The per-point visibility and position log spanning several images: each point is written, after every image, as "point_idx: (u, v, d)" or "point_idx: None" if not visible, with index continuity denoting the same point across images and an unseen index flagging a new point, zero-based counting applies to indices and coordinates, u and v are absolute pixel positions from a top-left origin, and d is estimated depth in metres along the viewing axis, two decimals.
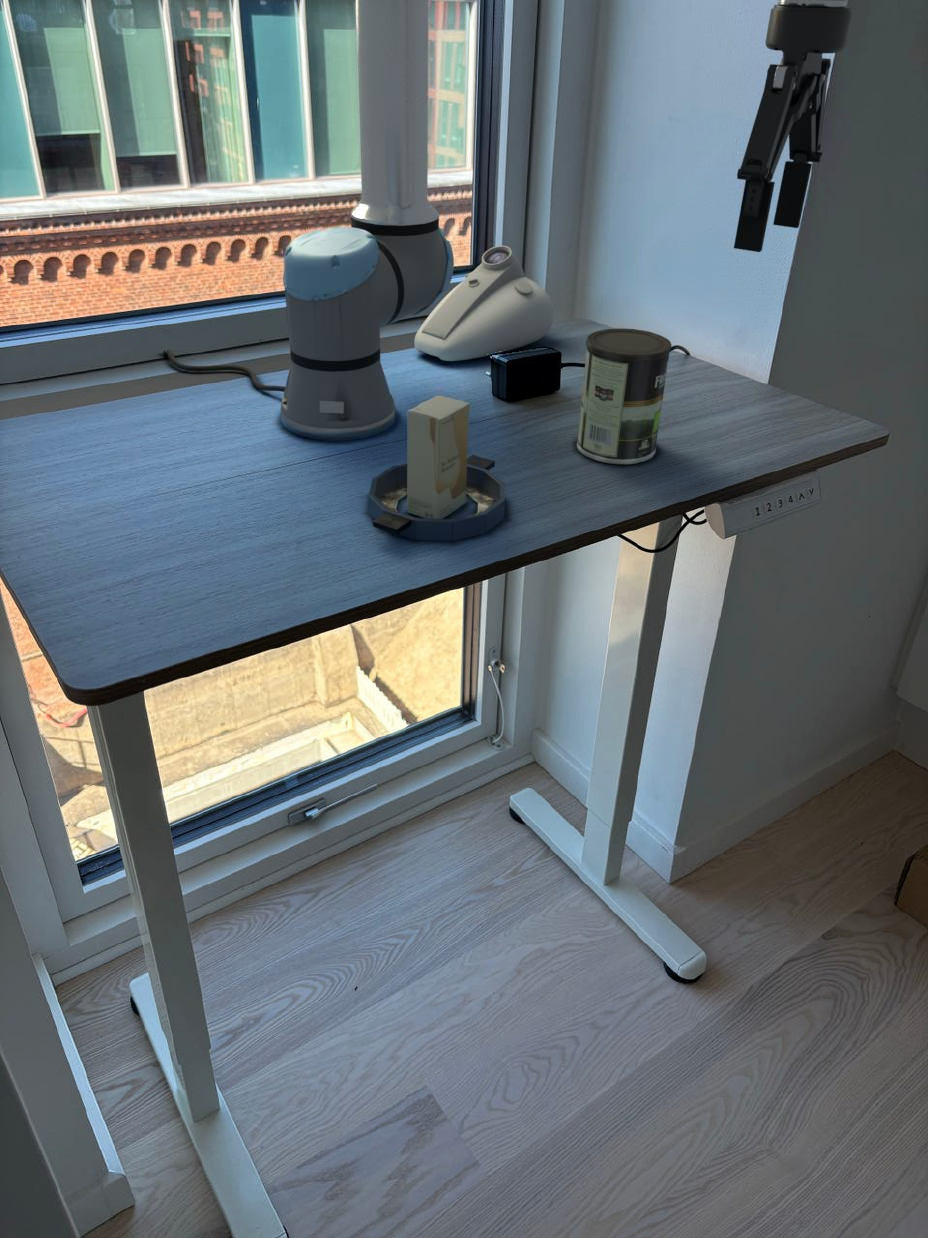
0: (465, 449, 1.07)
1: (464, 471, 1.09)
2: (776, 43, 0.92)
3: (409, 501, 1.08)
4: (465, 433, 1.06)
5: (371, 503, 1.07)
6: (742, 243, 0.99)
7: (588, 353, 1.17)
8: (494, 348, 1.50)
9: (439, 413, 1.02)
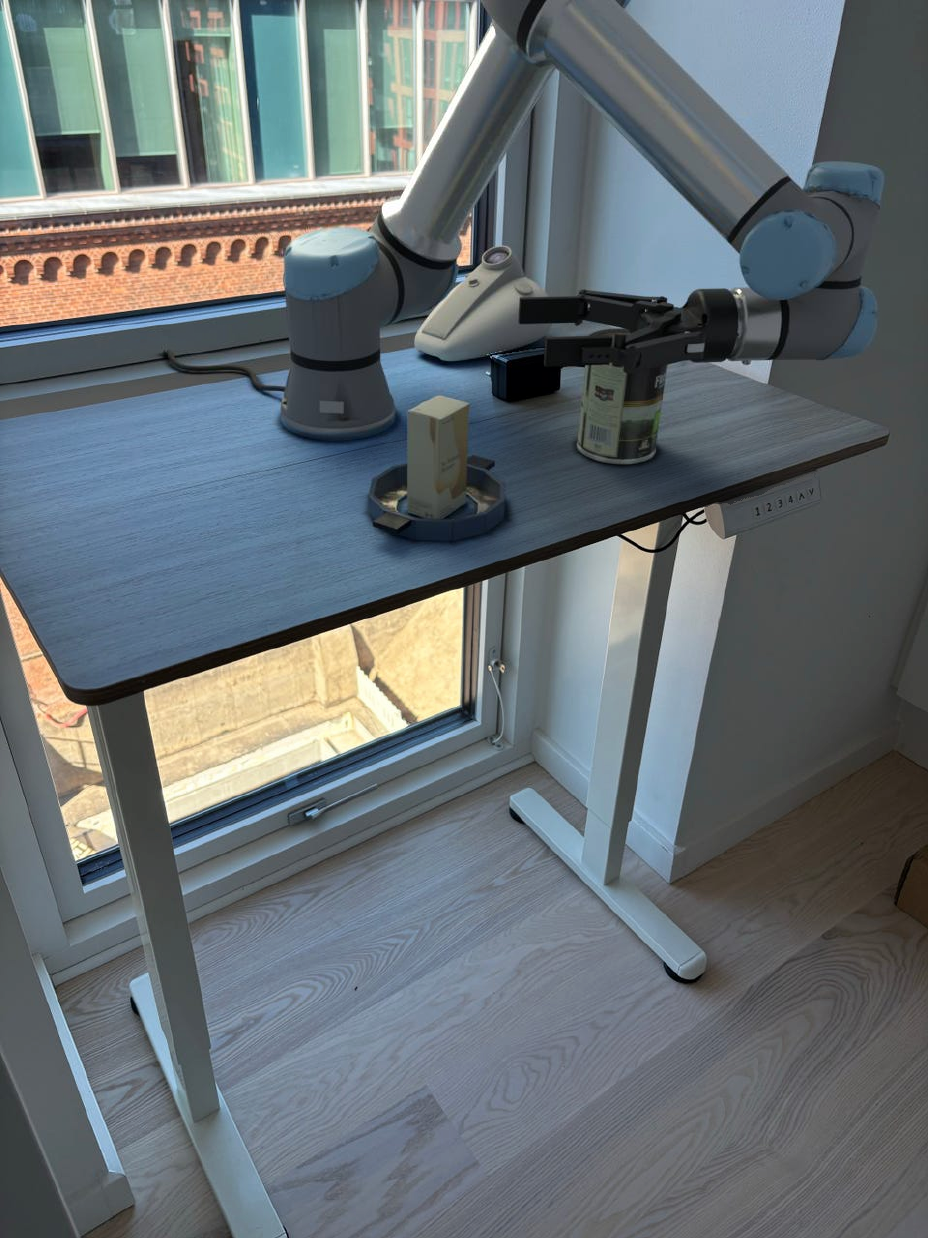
0: (465, 449, 1.07)
1: (464, 471, 1.09)
2: (711, 317, 0.99)
3: (409, 501, 1.08)
4: (465, 433, 1.06)
5: (371, 503, 1.07)
6: (552, 347, 0.94)
7: None
8: (494, 348, 1.50)
9: (439, 413, 1.02)
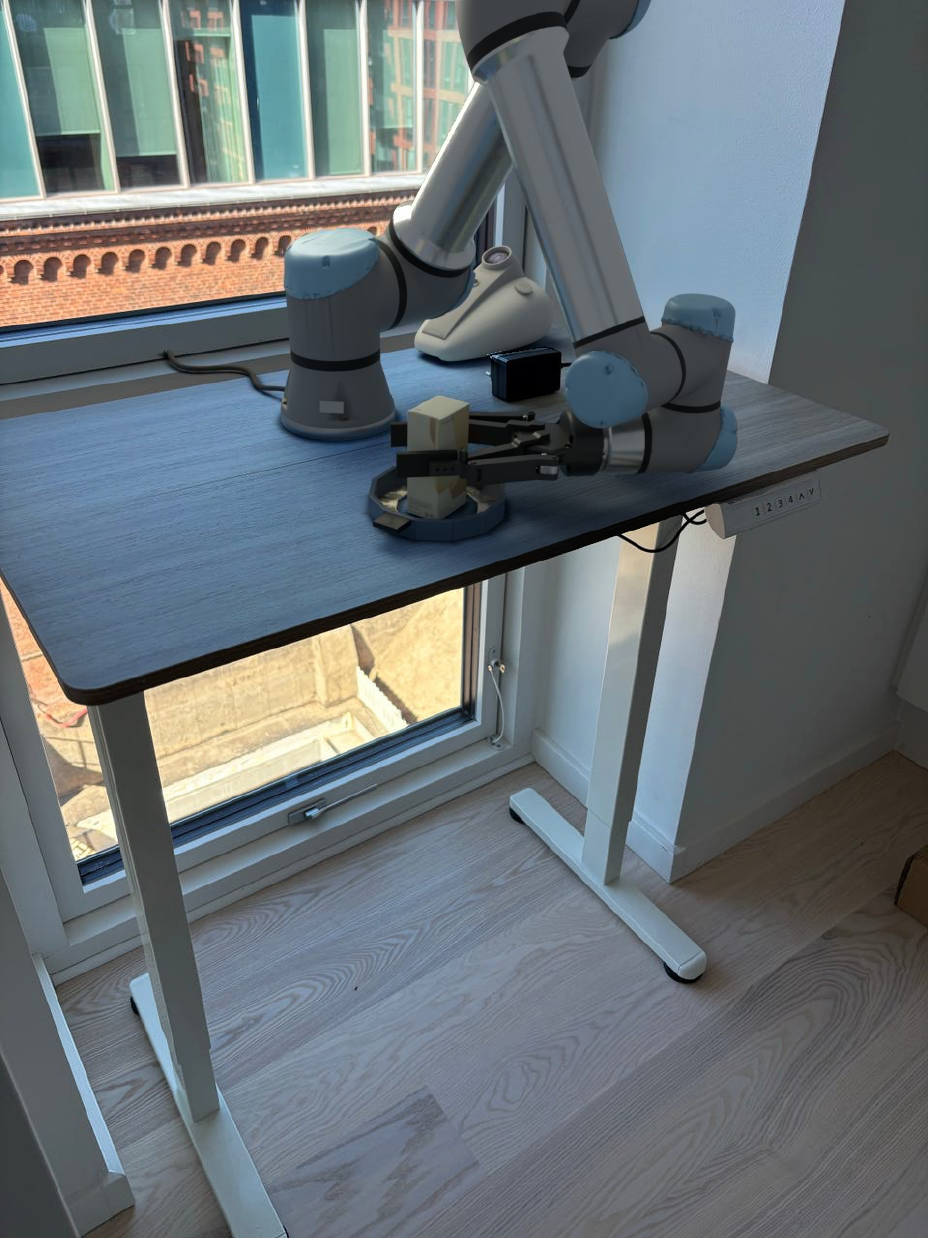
0: None
1: None
2: (577, 439, 1.04)
3: (409, 501, 1.08)
4: (465, 433, 1.06)
5: (371, 503, 1.07)
6: (401, 461, 1.02)
7: None
8: (494, 348, 1.50)
9: (439, 413, 1.02)
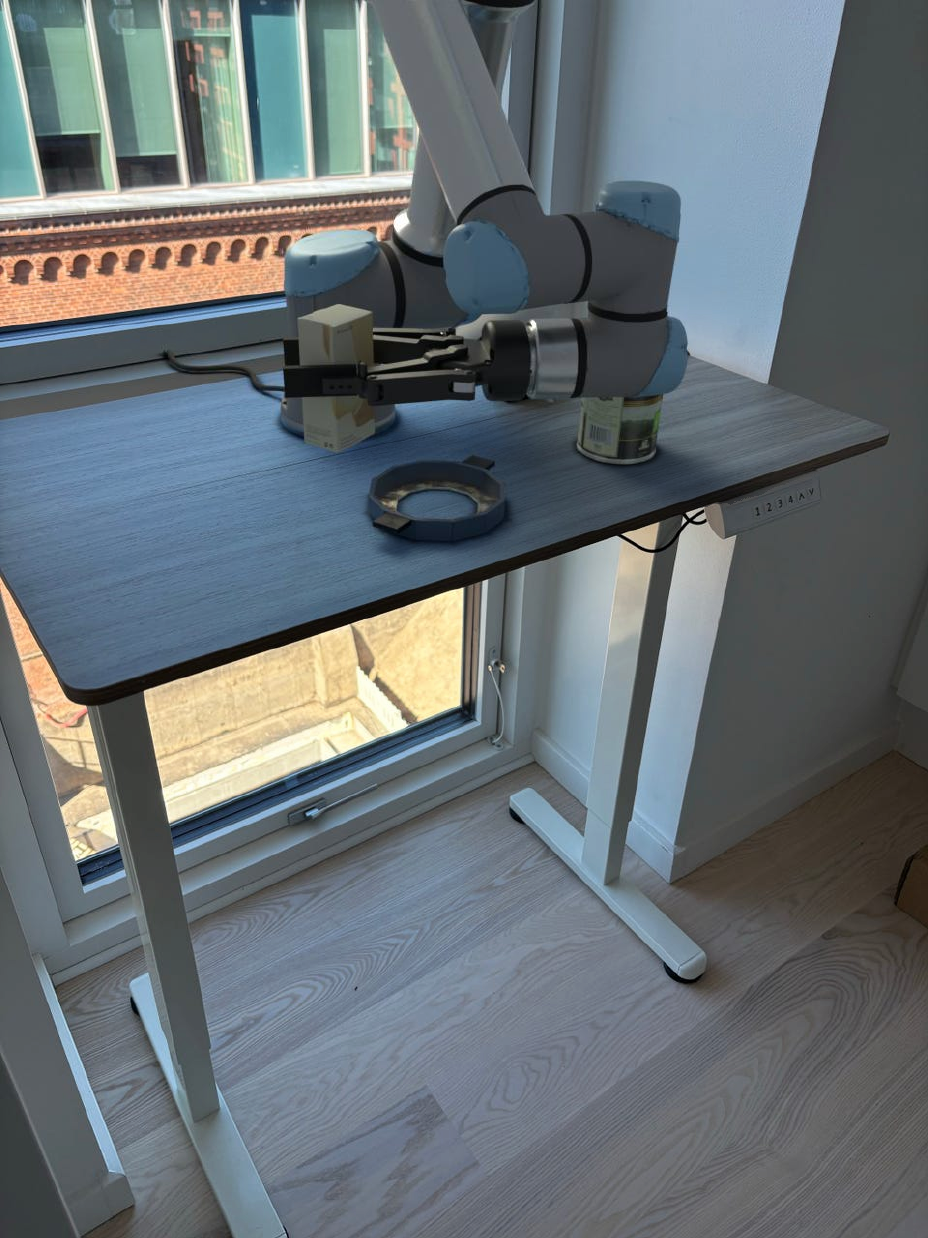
0: None
1: None
2: (498, 353, 0.89)
3: (306, 429, 0.93)
4: (369, 348, 0.91)
5: (371, 503, 1.07)
6: (290, 377, 0.86)
7: None
8: None
9: (334, 321, 0.86)
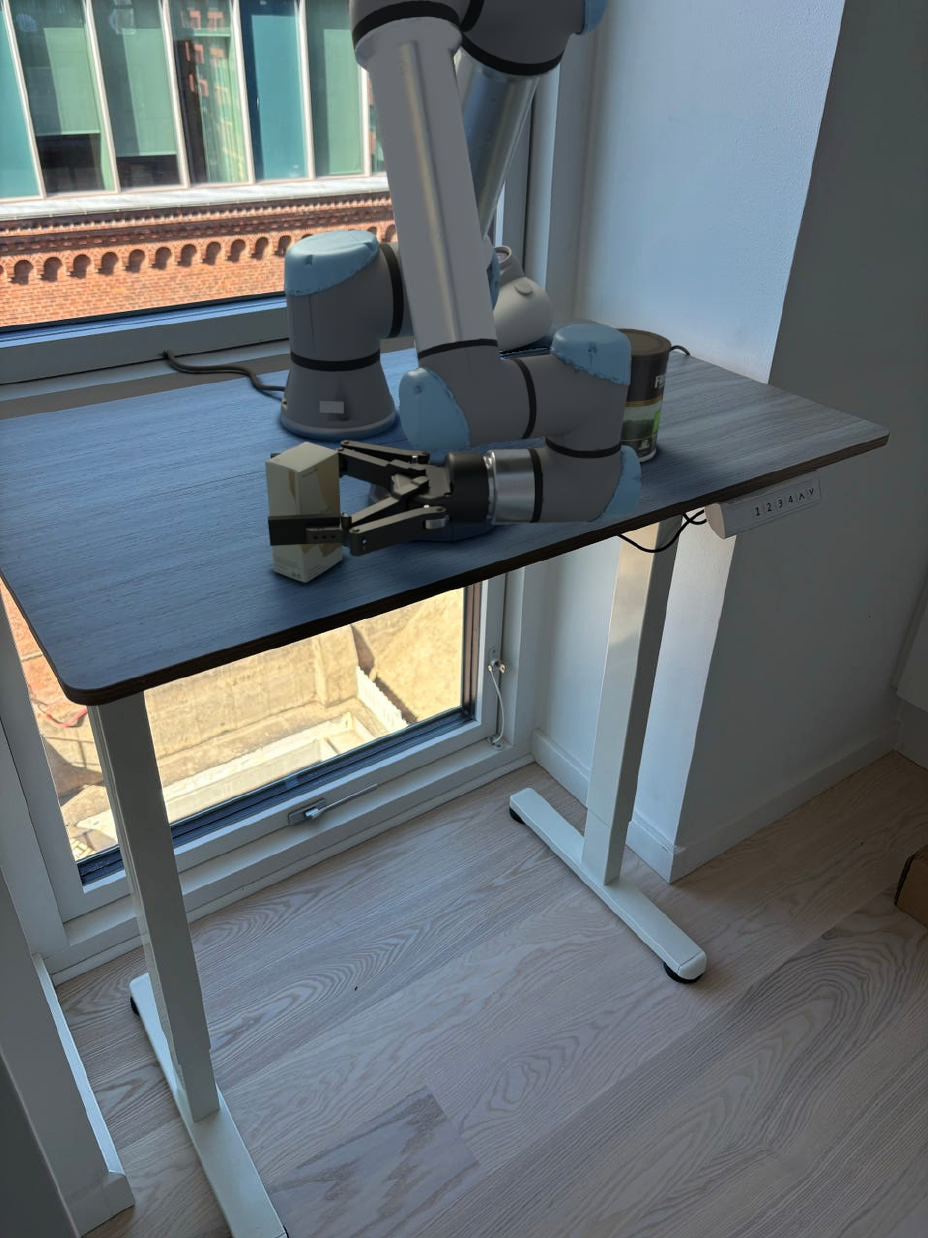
0: (337, 501, 0.96)
1: None
2: (457, 487, 0.93)
3: (275, 559, 0.97)
4: (335, 484, 0.95)
5: (371, 503, 1.07)
6: (274, 527, 0.88)
7: None
8: None
9: (299, 464, 0.91)
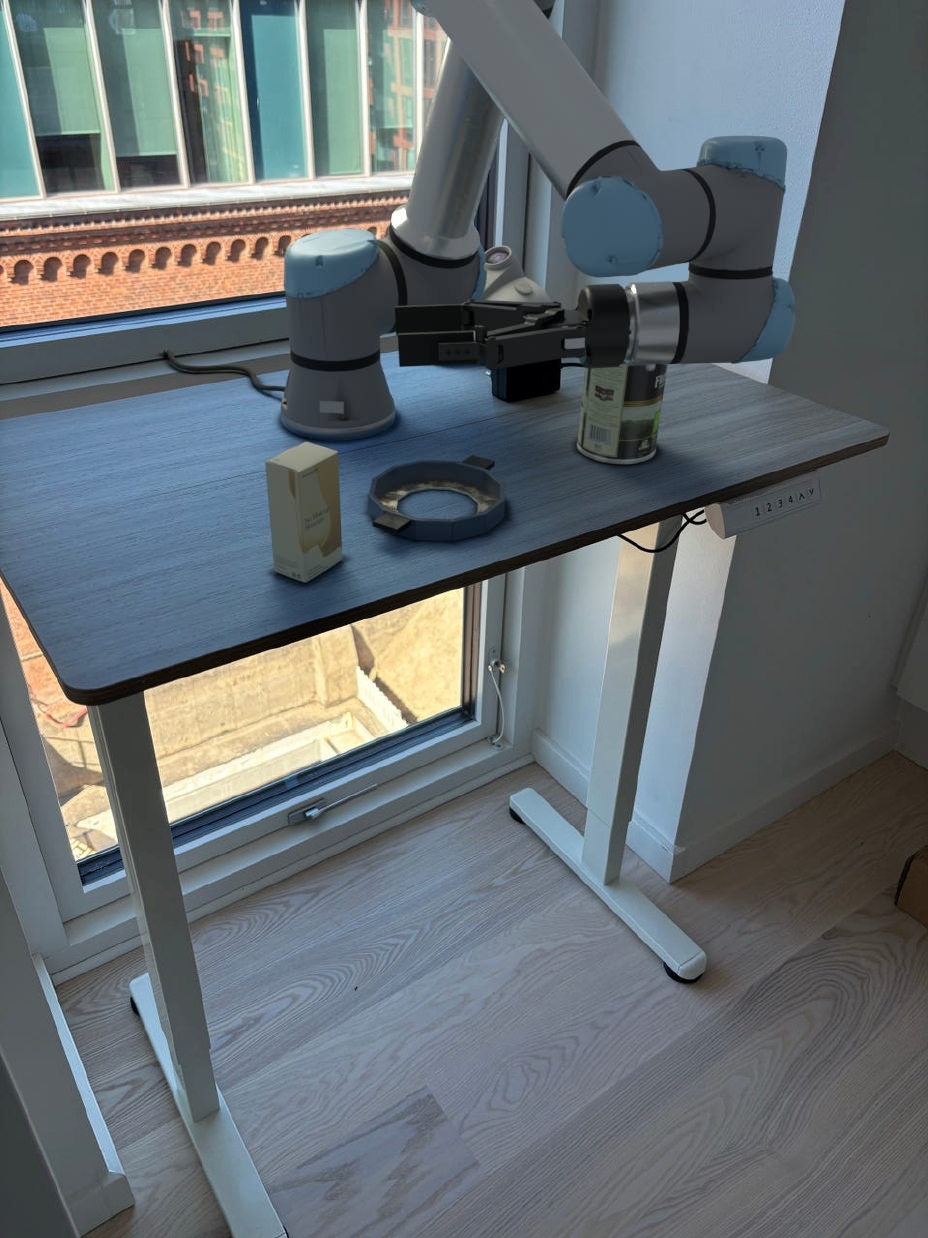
0: (337, 501, 0.96)
1: (337, 525, 0.98)
2: (596, 312, 0.87)
3: (275, 559, 0.97)
4: (335, 484, 0.95)
5: (371, 503, 1.07)
6: (404, 344, 0.83)
7: None
8: None
9: (299, 464, 0.91)
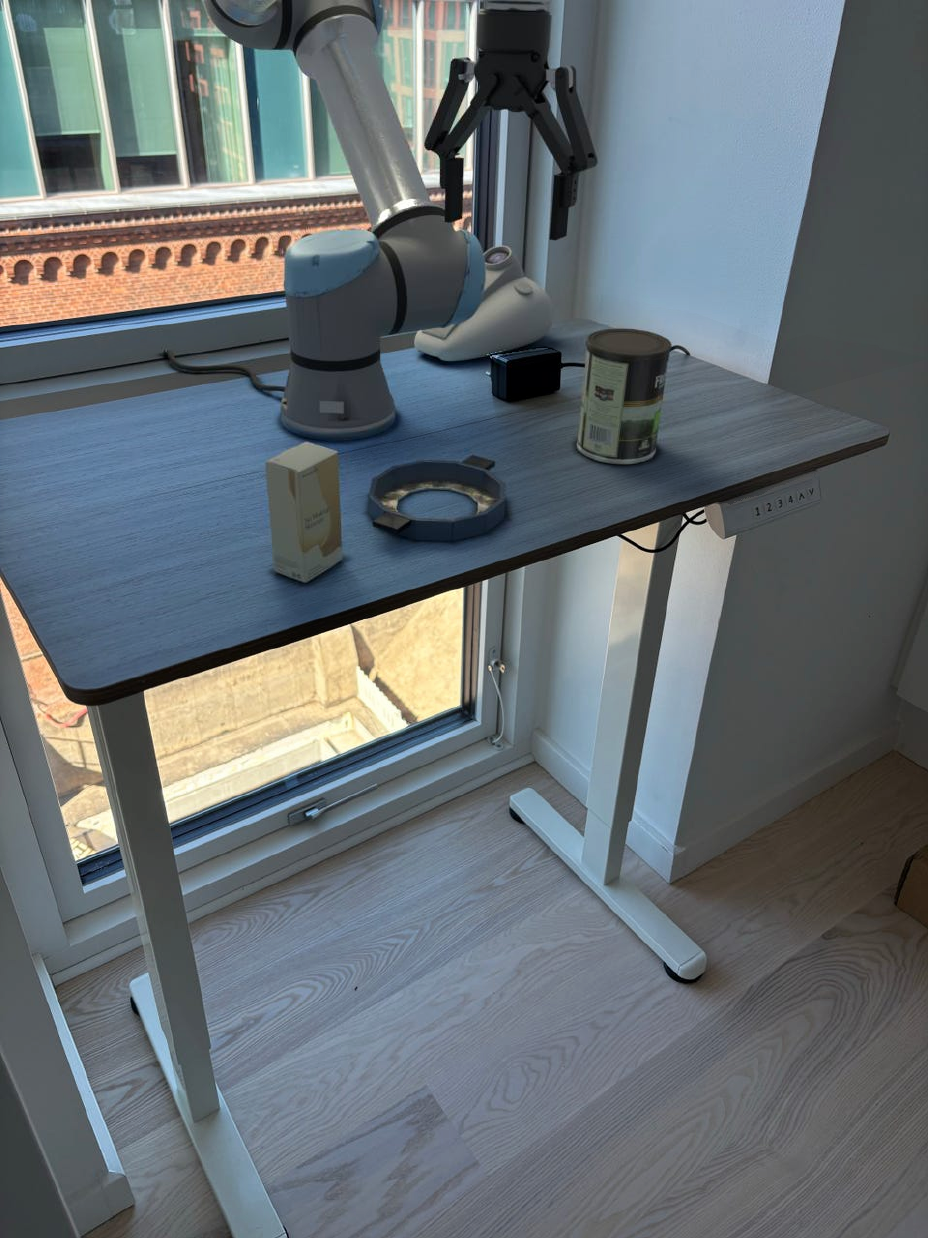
0: (337, 501, 0.96)
1: (337, 525, 0.98)
2: None
3: (275, 559, 0.97)
4: (335, 484, 0.95)
5: (371, 503, 1.07)
6: None
7: (588, 353, 1.17)
8: (494, 348, 1.50)
9: (299, 464, 0.91)
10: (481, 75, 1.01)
